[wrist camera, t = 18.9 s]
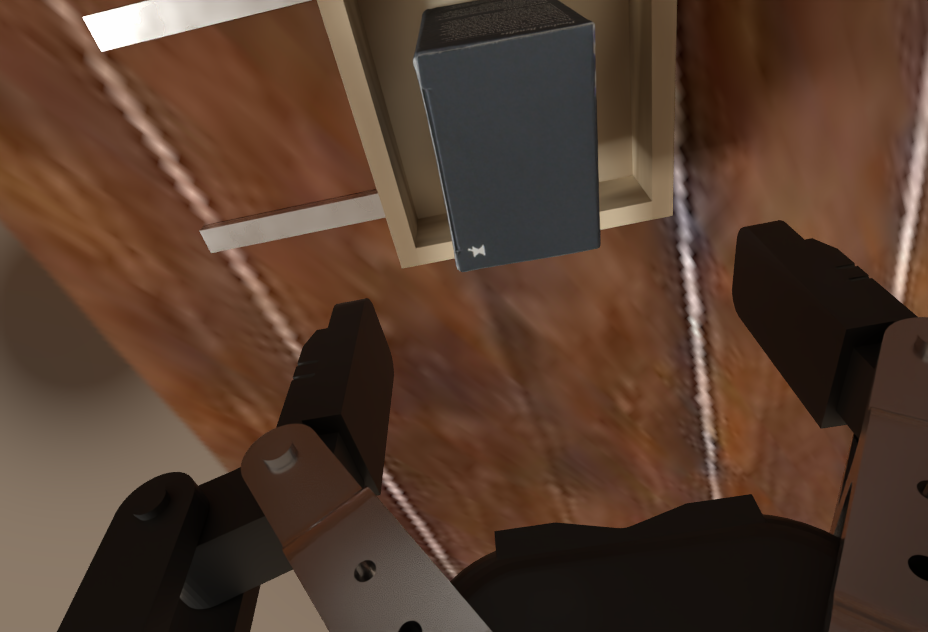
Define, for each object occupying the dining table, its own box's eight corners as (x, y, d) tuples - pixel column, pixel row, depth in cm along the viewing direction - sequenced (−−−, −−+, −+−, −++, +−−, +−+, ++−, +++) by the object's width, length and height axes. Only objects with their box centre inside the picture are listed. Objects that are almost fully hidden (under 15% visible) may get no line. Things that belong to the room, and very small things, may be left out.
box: (555, 154, 29) (603, 253, 20) (449, 172, 29) (453, 277, 21) (544, -17, 24) (600, 19, 16) (419, 7, 25) (407, 54, 16)
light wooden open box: (631, -128, 24) (679, -139, 19) (637, 170, 33) (672, 215, 28) (329, -51, 26) (303, -44, 21) (407, 217, 34) (401, 268, 29)
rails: (651, -127, 25) (656, -129, 25) (652, 157, 33) (656, 161, 32) (89, 14, 28) (82, 17, 27) (214, 247, 36) (211, 253, 35)
